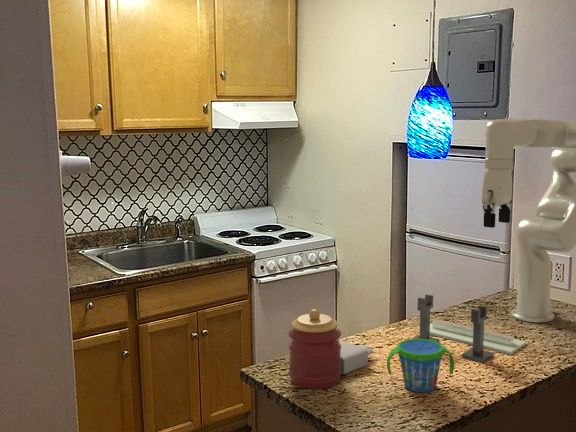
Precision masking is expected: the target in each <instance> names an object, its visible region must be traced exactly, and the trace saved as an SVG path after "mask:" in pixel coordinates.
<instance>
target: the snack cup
mask: <svg viewBox="0 0 576 432" xmlns="http://www.w3.org/2000/svg"><path fill="white" fill-rule="evenodd" d="M444 353H446V354H448V356H449V369H448V373H450V374H453V372H454V369H455V361H454V356H453V354H452V353H451V352H450V350H449V349H448V348H447V347H445V346H444V345H442V344H441V343H440V342H439V343H438V342H436V341H433V340H428V339H413V338H409V339H405V340H402V341H400V342H399V343H398V345H397V346H396V347H395V348H393V349H391V351H390V352H389V354H388V356H387V359H386V367H387V372H388V374H389V376H391V374H392V371H391V364H390V361H391V359H392V358H393V356H394V355H395V354H398V358H399V362H400V366H401V372H402V373H401V374H402V379H403V383H404V386H405V388H407V389H409V390H410V391H412V392H415V393H426V392H433V391H434V389H435V388H436V387H437V384H438V380H439V373H440V367H441V361H442V358H443V355H444Z"/></svg>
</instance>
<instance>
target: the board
mask: <svg viewBox="0 0 576 432" xmlns="http://www.w3.org/2000/svg"><path fill="white" fill-rule="evenodd" d="M418 332H419V333H420V328H419V329H418ZM430 336H434V337H437V338H438V337H439V338H442V339H445V340H450V339H451V340H450V341H454V342H459V343H462V342H463V343H462V344H466V345H470V346H473V337H470V336H466V335H461V334H457V333H453V332H449V331H444V330H440V329H436V328H432V322H430ZM526 344H527V342H526V341H524V340H520V339H516V338H514V344H513V345H511V346H508V345H504V344H500V343H495V342H491V341H487V340H484V342H483V349H486V350H490V351H494V352H499V353H502V354H507V355H513V354H514V353H515V352H517V351H519V350H520V349H521V348H523V347H524V346H525V345H526Z"/></svg>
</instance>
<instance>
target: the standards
mask: <svg viewBox="0 0 576 432" xmlns="http://www.w3.org/2000/svg"><path fill="white" fill-rule="evenodd" d="M433 308H434V295H432V294H425V295H424V297H418V298H417V309H416V310H417V311H419V312H420V313H419V329H420V332H419V335H417V336H415V337H413V338H412V339H428V340H433V341H436V342H438V343H440V338H438V337H432V336H431V335H430V324H431V309H433ZM487 319H488V306H486V305H482V304H479V305H477V308H471V309H470V323H473V324H472V325H473V326H472V327H473V345H472V347H471V348H470V349H467V350H466V351H464V352H462V354H461V358H463V359H467V360H471V361H474V362H478V363H482V364H484V363H486V362H487V361H489V360H490V359H492V358H493V357H494V355H495V354H494V353H495V352H492V351H488V350H484V348H483V342H484V330H485V321H486V320H487Z"/></svg>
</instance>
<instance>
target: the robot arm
mask: <svg viewBox="0 0 576 432" xmlns="http://www.w3.org/2000/svg"><path fill="white" fill-rule="evenodd" d="M484 135H485V153H484V154H485V157H484V175H483V179H482V180H483V181H482V192H481V204H482V210H483V227H484V228H489V229H490V228H491V229H494V228H495V227H496V216H497V215H496V213H495V212H496V209H497V207H499V206H500V208H498V222H499V223H504V224H505V223H506V224H507V223H508V224H509V223H511V209H512V205H511V204H512V199H513V193H514V192H513V191H512V189H513V177H512V176H513V175H512V171H514V152H515V147H517V146H518V147H523V148H524V147H526V148H534V149H535V148H540V149H553V150H552V152H551V153H550V157H549V168H550V184H549V185H548V188H547V189H546V191H545V192H544V193H543V195H542V196H541V199H540V200H539V201H538V203H537V206H536V208H535V216H536V217H535V216H534V217H533V216H532V217H531V216H530V217H526V218H523V219H522V220H520V222H519V223H518V225H517V227H516V239H517V244H518V245H517V246H518V275H517V295H516V296H517V297H516V301H517V302H516V308H513V309H512V310H511V316H512V317H513V318H515V319H517V320H520V321H523V322H528V323H529V322H530V323H548V322H551V321H553V320H555V314H554V312H552V311H550V305H551V304H552V302H551V299H550V297H551V283H552V281H551V278H552V260H551V257H550V255H549V253H548V252H547V251H550V252H556V253H563V254H565V253H568V252H569V253H570V252H571V251H572V250H573V249H574V248H575V246H576V182H575V180H574V179H573V177H572V174H573V173H574V174H575V173H576V120H555V119H553V120H552V119H545V118H543V119H542V118H541V119H539V118H537V119H526V118H525V119H524V118H521V119H520V118H518V119H516V118H515V119H514V118H507V119H505V118H504V119H503V118H502V119H501V118H500V119H498V118H497V119H493V120H490V121H488V122H487V124H486V127H485V133H484ZM571 173H572V174H571Z"/></svg>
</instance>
